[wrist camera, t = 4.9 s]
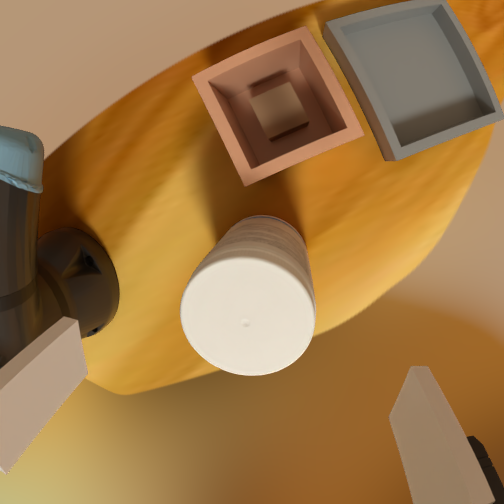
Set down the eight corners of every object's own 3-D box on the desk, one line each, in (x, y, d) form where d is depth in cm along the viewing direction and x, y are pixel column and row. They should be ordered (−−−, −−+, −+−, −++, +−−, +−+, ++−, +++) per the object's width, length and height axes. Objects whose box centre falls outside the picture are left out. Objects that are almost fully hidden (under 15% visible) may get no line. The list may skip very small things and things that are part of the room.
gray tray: (384, 161, 30) (396, 160, 27) (322, 36, 27) (325, 22, 24) (486, 121, 27) (505, 118, 23) (430, 8, 24) (442, -5, 20)
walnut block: (271, 142, 30) (268, 139, 27) (253, 107, 30) (248, 99, 26) (307, 126, 30) (309, 120, 26) (290, 91, 29) (289, 81, 25)
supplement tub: (208, 229, 35) (153, 274, 21) (292, 201, 33) (291, 230, 19) (239, 307, 37) (208, 388, 23) (319, 285, 35) (331, 362, 21)
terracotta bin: (257, 180, 33) (245, 186, 24) (217, 97, 31) (191, 77, 22) (345, 142, 30) (364, 135, 22) (303, 59, 29) (305, 25, 20)
